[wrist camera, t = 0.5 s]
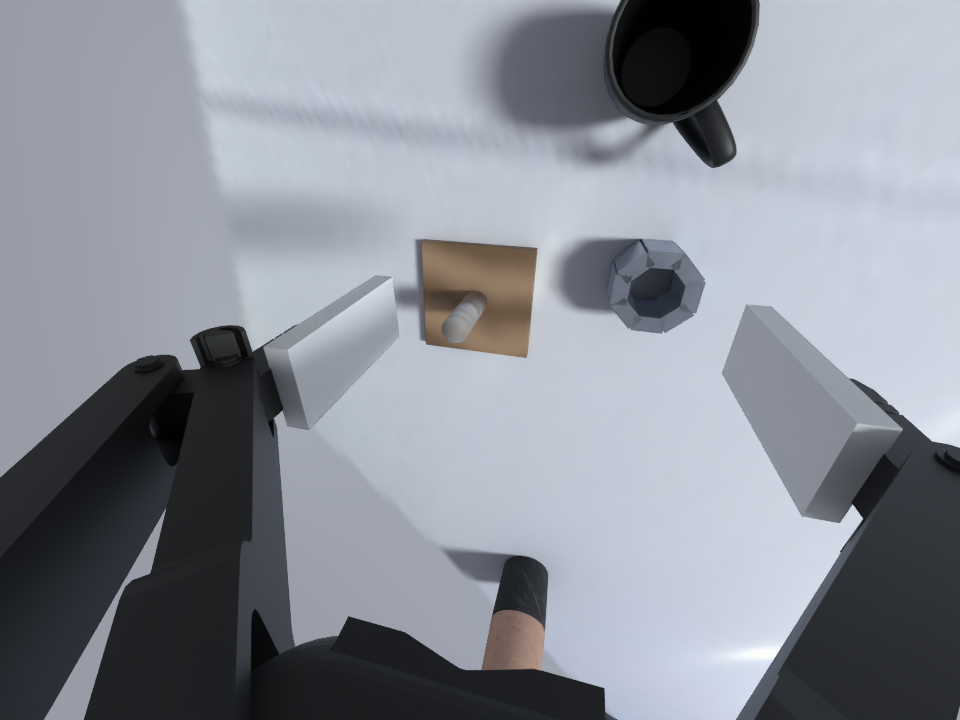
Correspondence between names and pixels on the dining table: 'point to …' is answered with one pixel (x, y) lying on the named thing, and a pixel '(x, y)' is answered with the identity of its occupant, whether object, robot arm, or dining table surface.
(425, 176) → the dining table surface
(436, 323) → the shaft stand
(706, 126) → the mug
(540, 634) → the travel mug
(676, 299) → the ring
